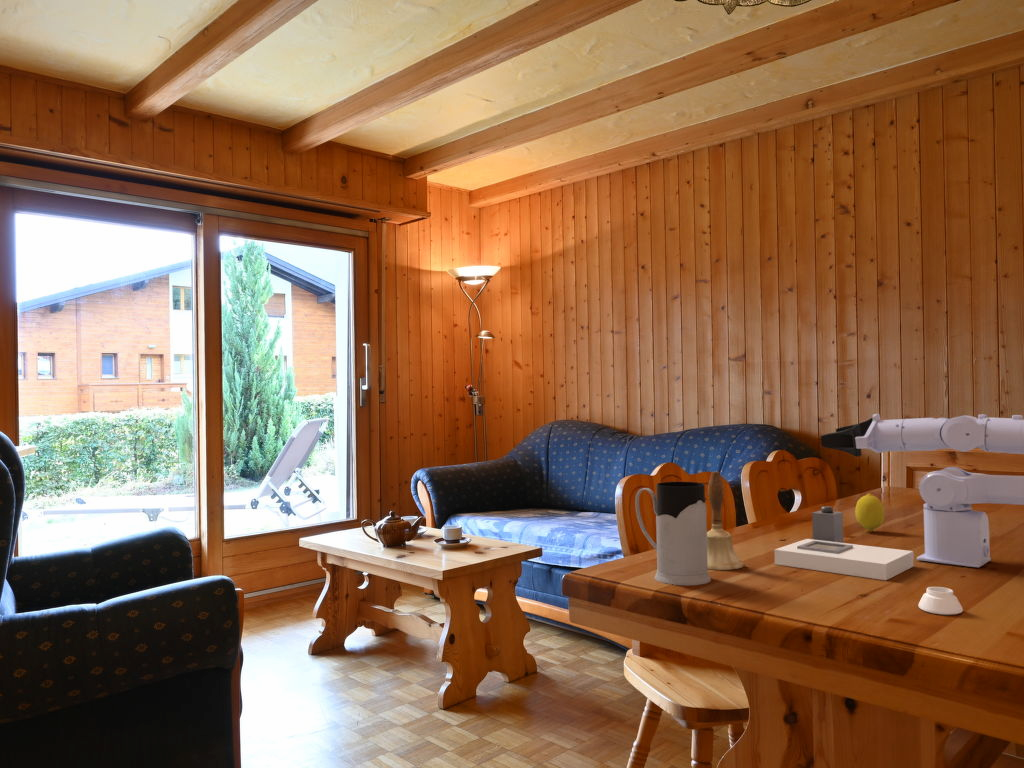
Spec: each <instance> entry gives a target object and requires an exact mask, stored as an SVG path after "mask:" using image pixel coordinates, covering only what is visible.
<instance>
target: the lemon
mask: <svg viewBox="0 0 1024 768" xmlns="http://www.w3.org/2000/svg"><path fill="white" fill-rule="evenodd" d="M854 515H855V518H856V521H857V523H858V524H859V525H860V526H861V527H862V528H864V529H866V530H867V531H868V532H869V533H872V532H874V530H875V529H878V528H879V527H881V526H882V524H883V523H884V520H885V508H884V504H883V502H882V500H880V499H879V498H878V497H877V496H875V495H873V494H872V493H866V495H863V496H861V497H860V498H859V499H858V500H857V502H856V505H855V509H854Z"/></svg>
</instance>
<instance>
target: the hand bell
mask: <svg viewBox="0 0 1024 768" xmlns="http://www.w3.org/2000/svg"><path fill="white" fill-rule="evenodd" d="M710 473H711V474H710V478H709V480H708V486H707V493H708V500H709V502H710V505H711V529H710V530H707V562H708V570H714V571H731V570H738V569H741V568H744V566H745V565H744V562H743V561H742V560H741V559H740V558H739V557H738V555H737V553H736V552H735V548H734V546H733V542H732V534H731V533H729V532H728V531H726V530H724V529H723V519H722V505H723V502H724V494H725V493H724V492H725V491H724V483H723V481H722V477H721V476H720V475H721V474H720V471H711V472H710Z"/></svg>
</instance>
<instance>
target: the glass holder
mask: <svg viewBox="0 0 1024 768" xmlns="http://www.w3.org/2000/svg"><path fill="white" fill-rule="evenodd" d="M705 489H706V486H705V483H704V482H703V483H702V482H698V481H697V482H695V481H662V482H658V483H656V494H655V492H654V491H653V490H652V489H651V488H648V487H643V488H640V489H638V491H637V492H636V495H635V500H634V501H635V504H634V505H635V512H636V518H637V521H638V525H639V527H640V530H641V532H642V533H643V536H644V537H645V538H646V539H647V541H648V542H649V544H651V546H652V547H653V548H654V550H655V552H656V563H657V564H656V566H657V567H656V568H657V569H656V573H655V575H654V580H655V581H657V582H658V583H661V584H662V583H663V584H666V583H667V584H666V585H672V584H673V586H674V585H675V586H699V585H705V584H708V583H709V582H711V581H712V579H711V576H710V575H709V574H710V573H709V571H708V570H709V569H708V562H707V532H708V529H707V527H708V525H707V524H708V523H707V517H708V516H707V503H706V491H705ZM643 491H647V492H648V493H649V495H650V496H651V500H652V505H653V506H652V508H653V512H654V514H655V515H656V516H655V527H656V542H655V541H654V540H653V538H652V537H651V536H650V534H649V532H648V530H647V529H646V527H645V525H644V522H643V519H642V515H641V510H640V495H642V492H643Z"/></svg>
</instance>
